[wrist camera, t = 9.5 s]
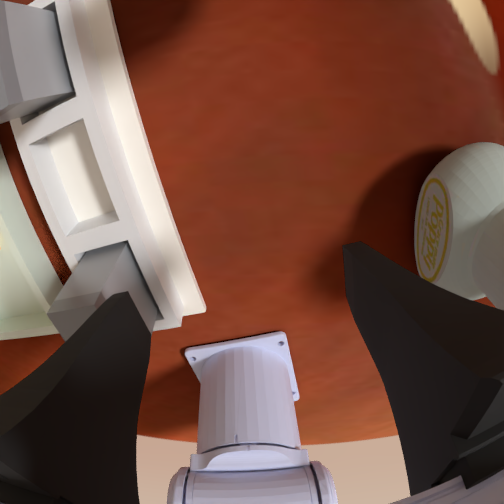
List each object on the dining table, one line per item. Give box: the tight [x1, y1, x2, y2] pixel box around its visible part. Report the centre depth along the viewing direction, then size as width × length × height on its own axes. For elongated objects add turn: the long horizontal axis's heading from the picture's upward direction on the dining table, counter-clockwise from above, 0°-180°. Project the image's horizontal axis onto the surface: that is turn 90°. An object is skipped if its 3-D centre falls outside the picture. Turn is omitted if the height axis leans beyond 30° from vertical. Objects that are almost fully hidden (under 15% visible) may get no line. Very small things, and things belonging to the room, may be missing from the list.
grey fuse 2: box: [47, 240, 159, 342], centre depth 17 cm, size 5×3×7 cm, turn 12°
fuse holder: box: [10, 0, 206, 331], centre depth 16 cm, size 23×8×3 cm, turn 12°
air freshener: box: [414, 142, 504, 310], centre depth 15 cm, size 11×8×10 cm
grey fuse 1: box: [0, 0, 76, 124], centre depth 10 cm, size 5×3×7 cm, turn 13°
